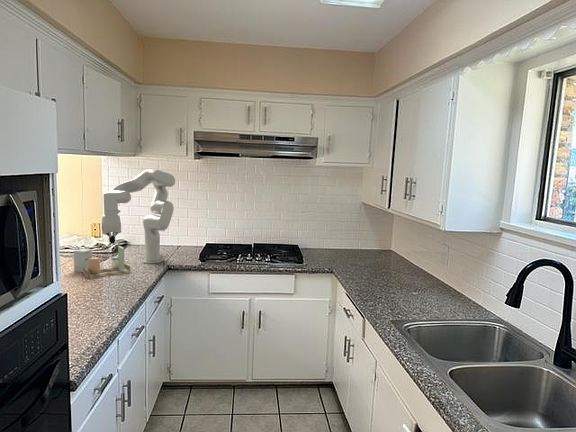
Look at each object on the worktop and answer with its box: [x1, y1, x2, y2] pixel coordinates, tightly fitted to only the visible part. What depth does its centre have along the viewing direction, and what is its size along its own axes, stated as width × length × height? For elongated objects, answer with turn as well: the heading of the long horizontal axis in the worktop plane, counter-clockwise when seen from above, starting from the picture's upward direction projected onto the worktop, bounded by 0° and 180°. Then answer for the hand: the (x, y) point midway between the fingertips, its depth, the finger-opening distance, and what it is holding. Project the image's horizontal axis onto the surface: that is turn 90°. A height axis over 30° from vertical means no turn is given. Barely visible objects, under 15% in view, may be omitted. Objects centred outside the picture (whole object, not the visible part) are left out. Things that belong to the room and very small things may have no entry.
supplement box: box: [73, 248, 93, 273], centre depth 247 cm, size 7×7×13 cm
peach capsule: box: [88, 256, 101, 275], centre depth 238 cm, size 6×6×10 cm
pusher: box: [117, 245, 127, 271], centre depth 249 cm, size 3×8×15 cm, turn 40°
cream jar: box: [110, 255, 118, 268], centre depth 256 cm, size 6×6×7 cm
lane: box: [82, 261, 131, 279], centre depth 243 cm, size 24×11×4 cm, turn 130°
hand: (112, 243), depth 244 cm, fingers closed
